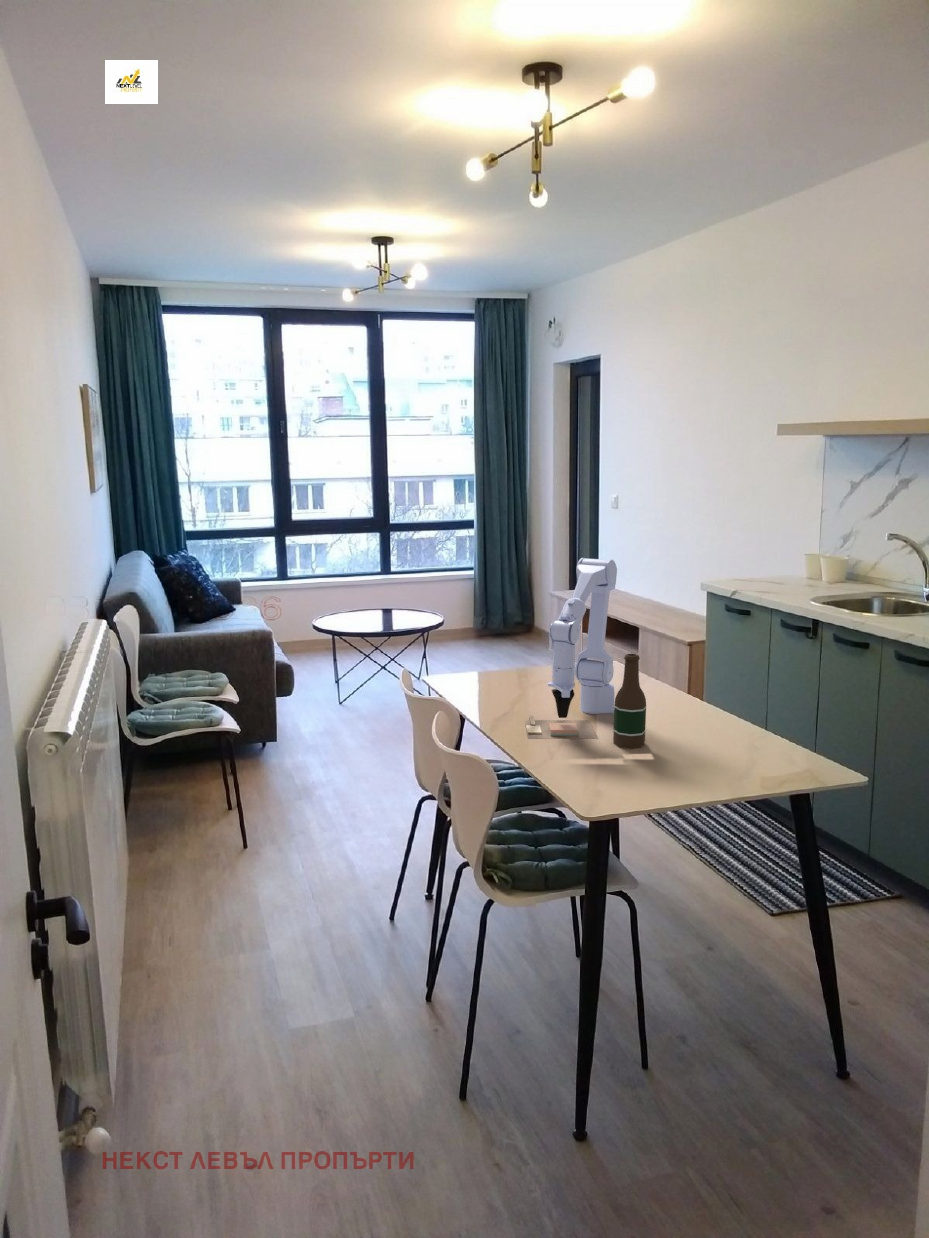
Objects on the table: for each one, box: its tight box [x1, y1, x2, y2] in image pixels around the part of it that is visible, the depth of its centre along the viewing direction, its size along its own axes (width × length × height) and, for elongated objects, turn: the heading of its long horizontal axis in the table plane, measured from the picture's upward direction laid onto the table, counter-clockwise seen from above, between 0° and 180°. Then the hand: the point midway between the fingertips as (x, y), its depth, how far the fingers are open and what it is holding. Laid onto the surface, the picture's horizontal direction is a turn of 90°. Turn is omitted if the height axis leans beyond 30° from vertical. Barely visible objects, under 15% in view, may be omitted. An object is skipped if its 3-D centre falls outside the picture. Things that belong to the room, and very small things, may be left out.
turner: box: [525, 715, 542, 734], centre depth 237 cm, size 4×14×1 cm, turn 0°
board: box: [523, 719, 599, 740], centre depth 235 cm, size 18×16×1 cm
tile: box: [549, 723, 578, 736], centre depth 232 cm, size 7×2×6 cm
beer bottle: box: [612, 653, 647, 750], centre depth 221 cm, size 8×8×24 cm
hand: (562, 717), depth 234 cm, fingers closed
